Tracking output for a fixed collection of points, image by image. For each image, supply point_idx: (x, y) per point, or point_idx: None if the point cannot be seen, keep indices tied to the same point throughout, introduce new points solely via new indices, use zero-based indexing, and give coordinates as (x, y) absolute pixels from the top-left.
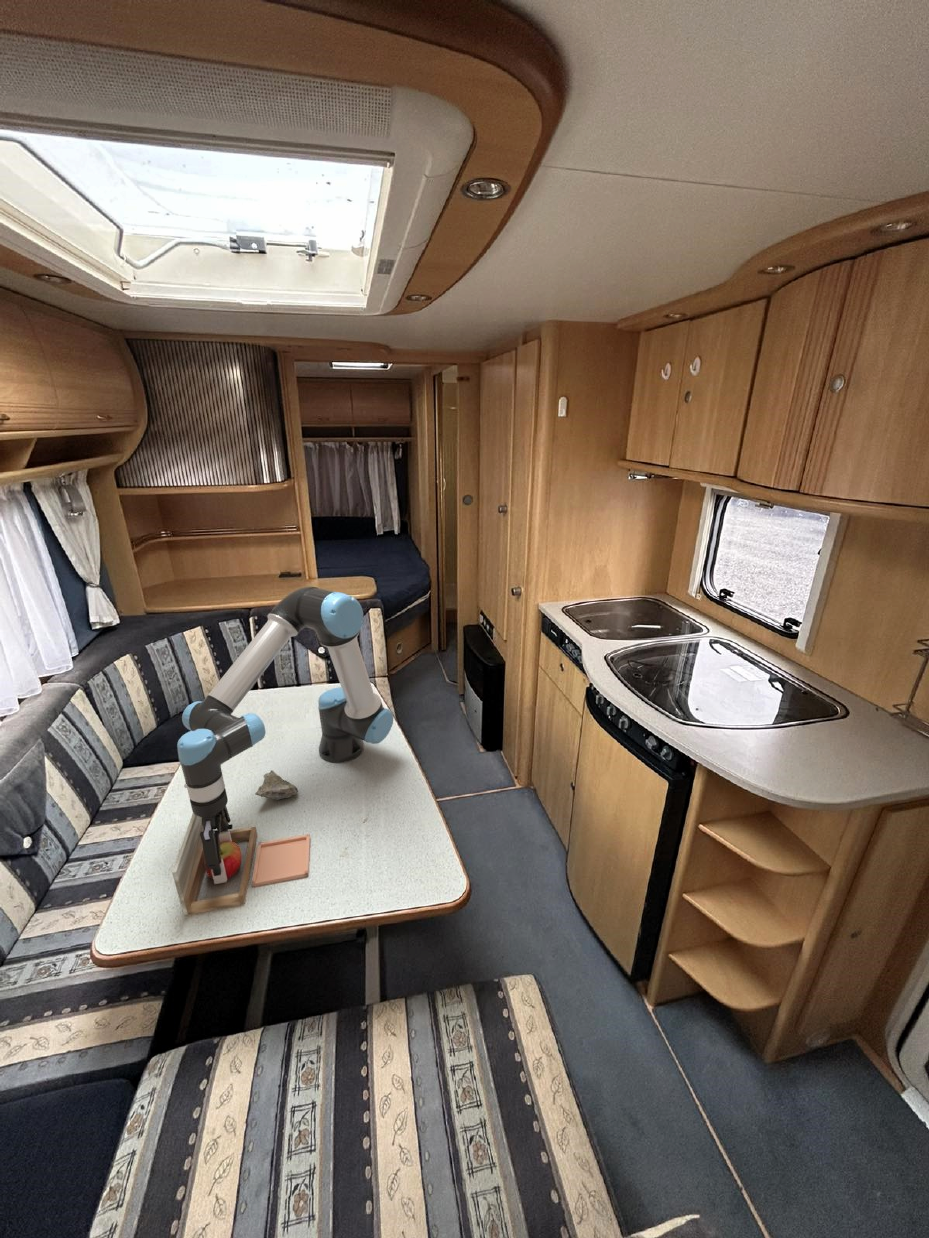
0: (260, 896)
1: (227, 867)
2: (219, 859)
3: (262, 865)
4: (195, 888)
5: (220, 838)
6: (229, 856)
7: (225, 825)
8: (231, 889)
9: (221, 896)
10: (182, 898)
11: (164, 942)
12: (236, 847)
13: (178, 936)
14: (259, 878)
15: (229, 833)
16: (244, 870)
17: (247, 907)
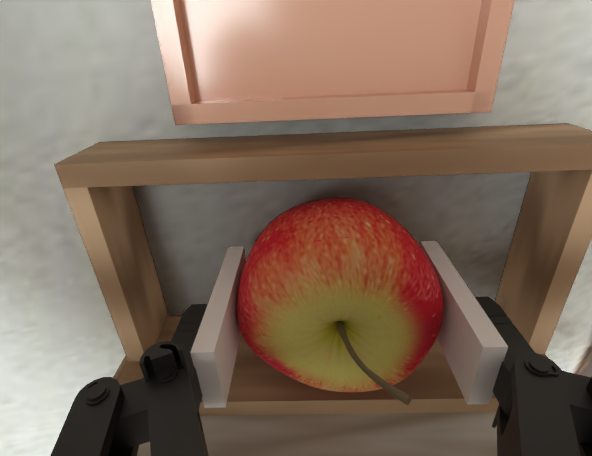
0: (540, 51)
1: (434, 272)
2: (564, 390)
3: (342, 71)
4: None
5: (230, 366)
6: (402, 291)
7: (203, 444)
8: (428, 205)
9: (563, 251)
10: None
11: (568, 361)
12: (318, 262)
13: (569, 333)
14: (441, 73)
15: (209, 341)
16: (427, 168)
17: (577, 111)
